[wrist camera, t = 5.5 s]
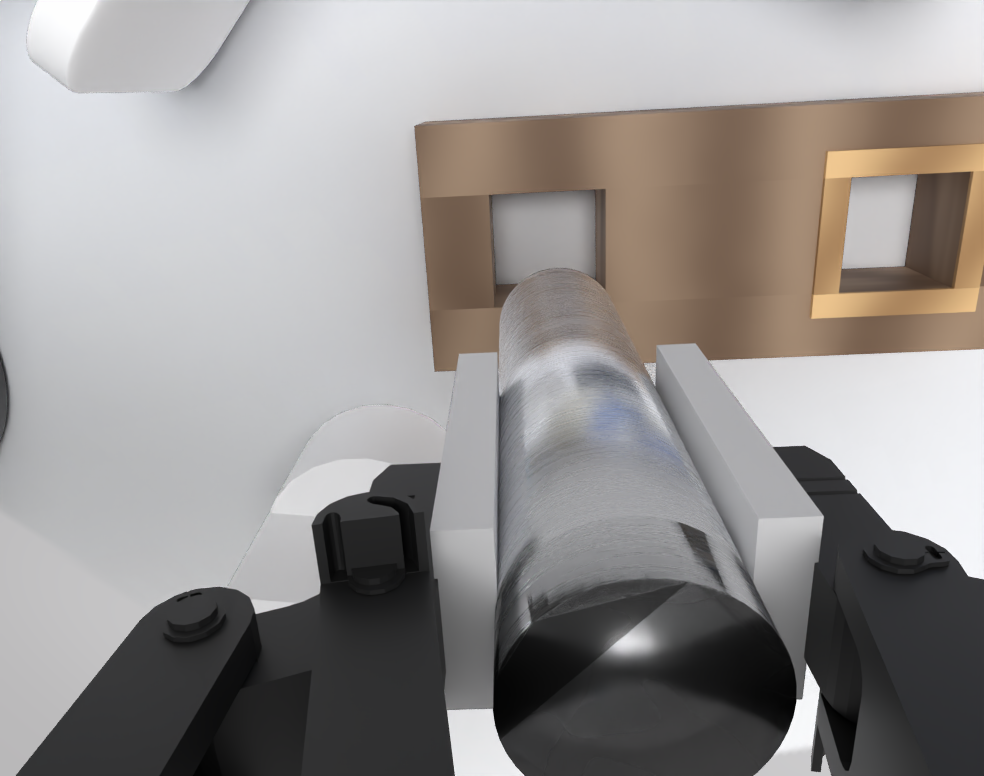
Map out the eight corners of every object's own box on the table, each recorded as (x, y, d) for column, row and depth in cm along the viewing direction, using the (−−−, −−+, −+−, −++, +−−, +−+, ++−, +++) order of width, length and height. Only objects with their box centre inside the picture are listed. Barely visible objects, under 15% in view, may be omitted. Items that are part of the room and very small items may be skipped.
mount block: (442, 342, 37) (434, 373, 33) (425, 121, 34) (413, 126, 30) (956, 321, 36) (1010, 349, 32) (995, 91, 33) (1061, 91, 29)
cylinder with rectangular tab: (298, 552, 42) (221, 724, 30) (296, 397, 38) (208, 524, 27) (466, 566, 42) (451, 741, 30) (478, 411, 38) (466, 544, 27)
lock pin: (502, 383, 22) (499, 819, 9) (496, 271, 21) (484, 584, 8) (616, 378, 22) (783, 812, 9) (616, 265, 21) (810, 572, 8)
